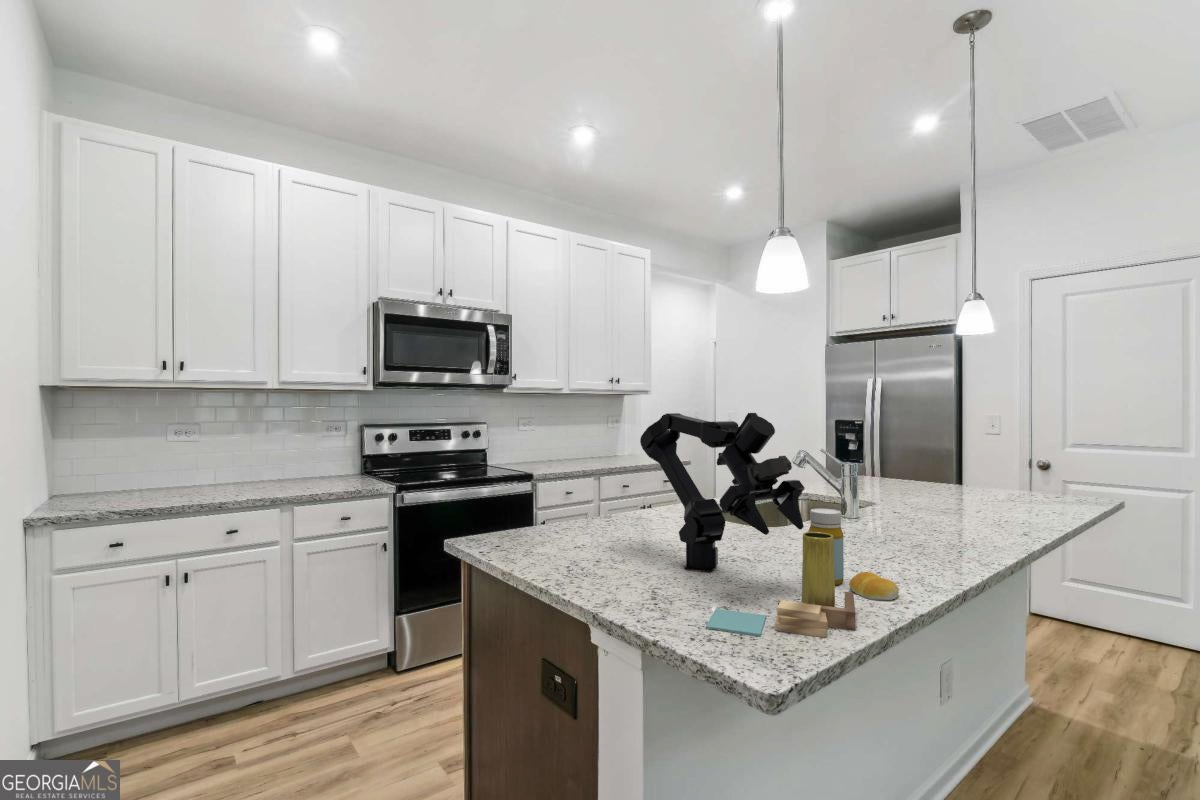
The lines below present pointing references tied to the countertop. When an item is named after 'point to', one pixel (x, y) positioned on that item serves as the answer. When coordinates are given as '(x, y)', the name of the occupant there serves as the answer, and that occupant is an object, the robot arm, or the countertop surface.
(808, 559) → the vase
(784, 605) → the offcut rack
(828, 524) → the bottle
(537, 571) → the countertop surface
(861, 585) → the bread roll
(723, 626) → the mat
